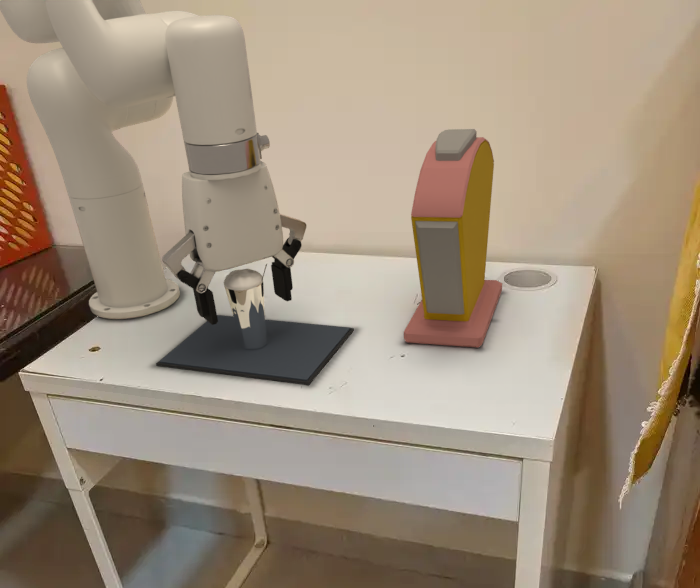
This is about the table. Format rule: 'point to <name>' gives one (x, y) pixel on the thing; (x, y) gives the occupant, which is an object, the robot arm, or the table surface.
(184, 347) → the mouse pad
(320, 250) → the table surface
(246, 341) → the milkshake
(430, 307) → the clock
